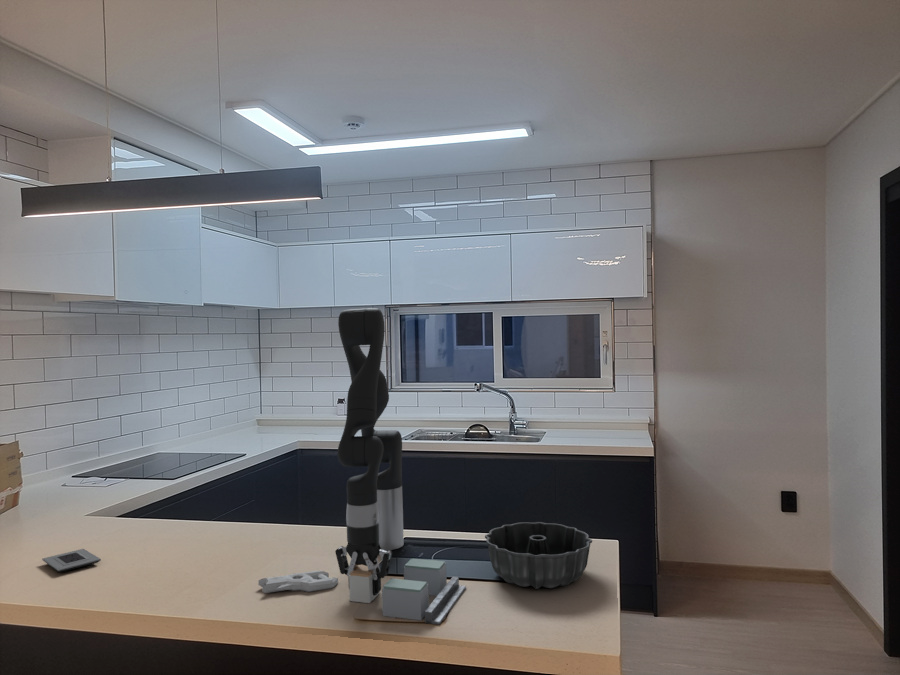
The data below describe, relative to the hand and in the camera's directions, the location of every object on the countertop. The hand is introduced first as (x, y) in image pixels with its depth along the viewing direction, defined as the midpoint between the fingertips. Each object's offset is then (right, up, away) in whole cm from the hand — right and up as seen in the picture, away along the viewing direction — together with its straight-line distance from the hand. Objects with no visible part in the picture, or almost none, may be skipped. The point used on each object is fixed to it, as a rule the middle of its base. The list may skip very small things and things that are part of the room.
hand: (364, 592), depth 158 cm
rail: (+18, -1, -5) cm, 19 cm away
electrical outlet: (-84, -3, +27) cm, 88 cm away
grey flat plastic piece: (-17, -2, +7) cm, 19 cm away
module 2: (+14, -1, +3) cm, 15 cm away
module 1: (0, -1, 0) cm, 1 cm away
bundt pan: (+42, 0, +11) cm, 44 cm away
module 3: (+10, -1, -9) cm, 14 cm away
